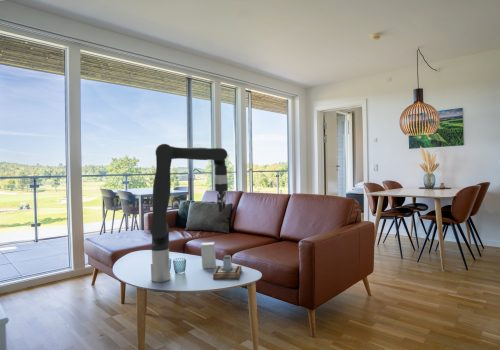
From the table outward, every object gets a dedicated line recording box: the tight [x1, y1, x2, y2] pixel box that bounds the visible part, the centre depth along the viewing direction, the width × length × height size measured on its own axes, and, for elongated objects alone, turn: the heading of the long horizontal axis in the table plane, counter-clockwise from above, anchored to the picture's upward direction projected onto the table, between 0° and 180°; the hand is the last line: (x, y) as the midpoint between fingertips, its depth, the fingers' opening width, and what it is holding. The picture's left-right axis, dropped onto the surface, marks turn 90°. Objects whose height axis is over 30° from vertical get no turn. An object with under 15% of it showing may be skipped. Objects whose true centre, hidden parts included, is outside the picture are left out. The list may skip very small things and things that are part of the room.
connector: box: [222, 254, 233, 271], centre depth 187 cm, size 4×4×10 cm
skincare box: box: [200, 241, 217, 270], centre depth 202 cm, size 8×6×15 cm
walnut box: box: [212, 265, 242, 280], centre depth 187 cm, size 14×14×3 cm
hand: (222, 210), depth 191 cm, fingers open, 8 cm apart
